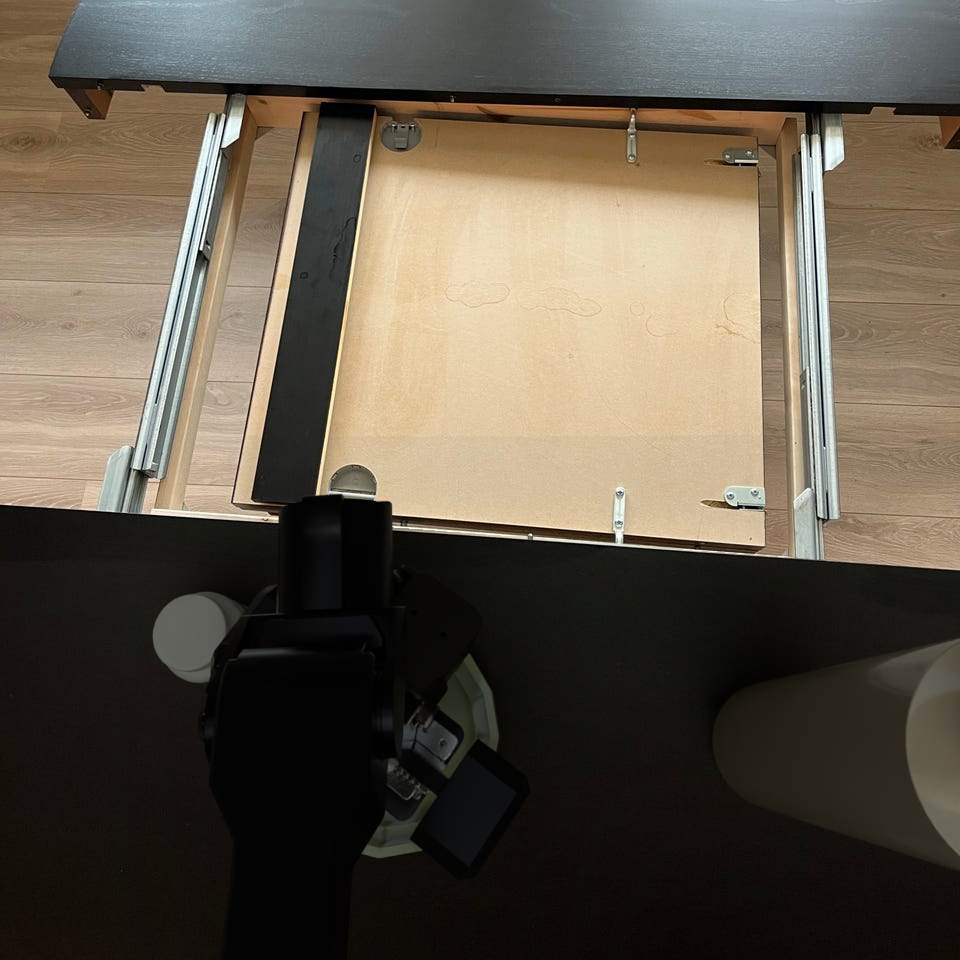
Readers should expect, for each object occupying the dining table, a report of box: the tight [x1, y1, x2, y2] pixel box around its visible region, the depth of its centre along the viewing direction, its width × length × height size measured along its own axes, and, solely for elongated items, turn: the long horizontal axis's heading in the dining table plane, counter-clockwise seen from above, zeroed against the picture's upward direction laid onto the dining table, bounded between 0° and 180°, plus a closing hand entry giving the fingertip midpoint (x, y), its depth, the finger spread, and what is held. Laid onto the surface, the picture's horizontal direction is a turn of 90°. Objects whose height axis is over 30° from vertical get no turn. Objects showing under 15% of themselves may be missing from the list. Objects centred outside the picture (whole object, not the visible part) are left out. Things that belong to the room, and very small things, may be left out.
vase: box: [711, 636, 960, 873], centre depth 50 cm, size 8×8×46 cm
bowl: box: [361, 652, 502, 859], centre depth 70 cm, size 14×14×5 cm
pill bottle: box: [152, 591, 248, 686], centre depth 71 cm, size 6×6×10 cm
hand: (386, 726), depth 67 cm, fingers closed on stick, 2 cm apart
